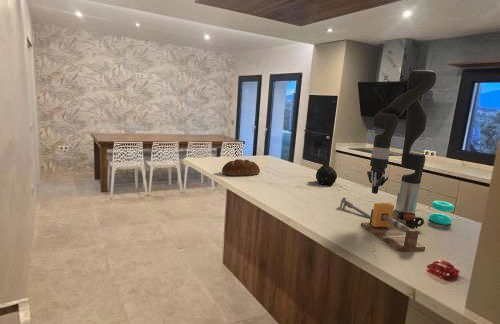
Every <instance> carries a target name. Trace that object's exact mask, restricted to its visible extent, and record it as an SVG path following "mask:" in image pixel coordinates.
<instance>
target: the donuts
mask: <svg viewBox="0 0 500 324" xmlns="http://www.w3.org/2000/svg"><path fill="white" fill-rule="evenodd" d="M431 207H432V208H434V210H437V211H440V212H444V213H446V212H448V213H450V212H453V211H455V205H454V204H452V203H450V202H447V201H444V200H443V201H442V200H433V201H432V202H431ZM428 218H429V220H430V221H431V222H433V223H436V224H439V225H445V226H447V225H450V224H451V223H452V221H453V220H452V218H451V217H450V216H449V215H447V214H443V213H439V212H433V213H431V214H429V216H428Z"/></svg>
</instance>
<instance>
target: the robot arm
mask: <svg viewBox="0 0 500 324" xmlns="http://www.w3.org/2000/svg"><path fill="white" fill-rule="evenodd" d="M436 82H437V74H436V72H435V71H434V70H430V69H426V70H425V69H413V70H412V71H410V73H409V74H408V78H407V91H405V92H403V93H402V94H400V95H398V96H397V97H396V98H395V99H394V100H392V102H391V103H390V104H389V105H387V106H386V107H384V108H383V109H381V110H379V111H378V112H377V113H375V115H374V117H373V119H372V123H373V126H374V128H377V129H382V130H384V131H383V132H382V133H377V134H375V136H374V140H373V146H372V151H371V156H370V163H369V167H371V168H370V170H369V171H368V170H366V171H367V172H366V175H367V178H368V180H369V183H371V185H372V186H371V193H372V194H374V195H377V194H378V193H379V187H380V186H381V187H382V186H384V184H385V183H386V182H387V181H388V180H389V177H388V176H386V169H388V166H389V158H390V152H391V151H390V148H391V142H392V138H393V136H394V134H395V131H396V130H397V128H398V124H399V117H401V116H403V114H404V113H405V112H406V118H405V124H404V125H405V127H404V128H405V129H404V141H403V148H402V154H401V161H400V162H401V167H402V168H404V169H407V170H408V169H409V170H412V171H413V170H414V172H413V173H408V174H403V175H402V176H401V180H400V187H399V192H398V193H397V197H396V202H395V203H396V204H395V207H394V208H395V209H394V210H396V212H398V214H399V213H400V212H410V213H414V214H415V215H416V210H417V204H418V199H419V193H420V188H421V187H420V186H421V182H422V177H423V172H424V167H425V162H426V155H425V153H422V152H418V151H417V152H416V151H411V149H412V147H413V144H414V143H415V142H416V141H417V140H418V139H419V137H421V135H423V133H424V131H425V130H426V127H427V113H426V110H425V109H424V107H423V105H422V102H421V100H420V98H421V97H423V96H424V95H425V94H427V93H428V92H429V91H430V90H432V88H434V86H435V84H436Z"/></svg>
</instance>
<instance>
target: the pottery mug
mask: <svg viewBox="0 0 500 324" xmlns="http://www.w3.org/2000/svg"><path fill="white" fill-rule="evenodd" d="M396 219H398V220H401V221H405V223H402V224H403V225H405V226H407V227H409V228H411V229H418V228H419V227H422V226H423V225H424V224H425V220H424V218H423V217H419V216H418V217H417V216H416V213H415V214H414V213H410V212H400V213H399V212H398V215H397V216H396ZM396 219H395V220H396ZM419 222H420V223H419Z"/></svg>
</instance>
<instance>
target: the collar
mask: <svg viewBox="0 0 500 324" xmlns="http://www.w3.org/2000/svg"><path fill="white" fill-rule="evenodd" d="M394 208H395V205H394V204H392V203H390V202H385V203H384V202H379V203H378V202H375V203H374V204H373V209H374V210H373V216H372V223H371V224H372V225H373V226H375V227H386V226H391V227H392V224H390V223H388V222H387V221H385V220H383V219H382V218H381V216H382V214H385V215H387V216H389V217H391V218H393V216H394V215H393V214H394V210H395V209H394Z"/></svg>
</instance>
